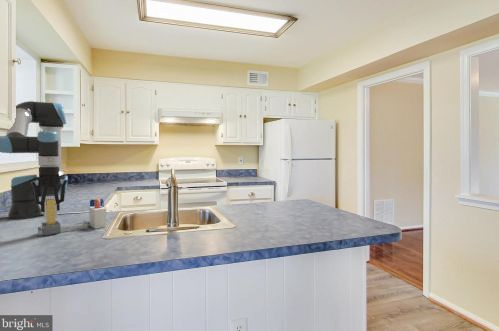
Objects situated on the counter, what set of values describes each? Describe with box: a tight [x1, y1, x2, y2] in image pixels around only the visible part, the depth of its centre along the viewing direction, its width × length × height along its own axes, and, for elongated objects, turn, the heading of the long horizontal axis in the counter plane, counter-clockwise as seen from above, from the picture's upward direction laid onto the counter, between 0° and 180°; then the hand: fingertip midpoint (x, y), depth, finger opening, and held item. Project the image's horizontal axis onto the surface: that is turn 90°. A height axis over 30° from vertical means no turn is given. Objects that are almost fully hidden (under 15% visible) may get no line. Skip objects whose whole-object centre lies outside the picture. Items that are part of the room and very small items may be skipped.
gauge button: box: [94, 199, 100, 209], centre depth 145 cm, size 3×3×8 cm
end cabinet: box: [88, 206, 107, 229], centre depth 145 cm, size 10×5×9 cm, turn 42°
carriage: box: [41, 197, 62, 236], centre depth 132 cm, size 8×6×15 cm
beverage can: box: [89, 197, 105, 208], centre depth 155 cm, size 6×6×12 cm
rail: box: [37, 220, 88, 237], centre depth 136 cm, size 3×19×3 cm, turn 132°
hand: (50, 218), depth 132 cm, fingers closed on carriage, 3 cm apart
